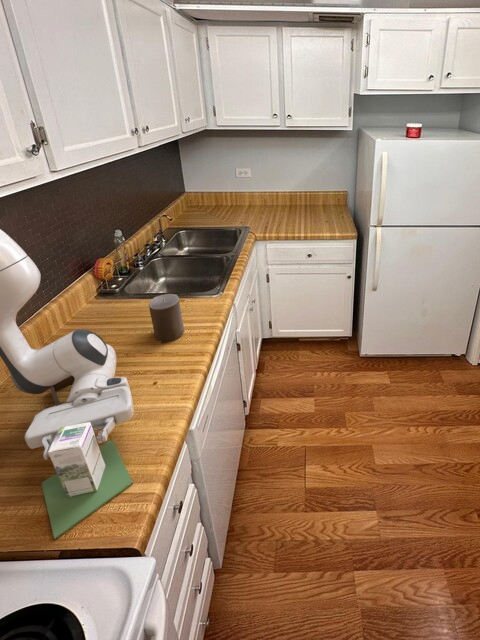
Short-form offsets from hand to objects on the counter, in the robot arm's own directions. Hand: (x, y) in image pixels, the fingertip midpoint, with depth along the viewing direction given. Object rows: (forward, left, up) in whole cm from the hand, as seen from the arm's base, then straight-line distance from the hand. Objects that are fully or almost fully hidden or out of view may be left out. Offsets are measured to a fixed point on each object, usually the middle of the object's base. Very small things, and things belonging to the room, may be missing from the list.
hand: (75, 448), depth 69 cm
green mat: (0, -1, -10) cm, 10 cm away
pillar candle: (+34, +36, -11) cm, 51 cm away
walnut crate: (+6, +28, -10) cm, 31 cm away
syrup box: (0, -1, -10) cm, 10 cm away
